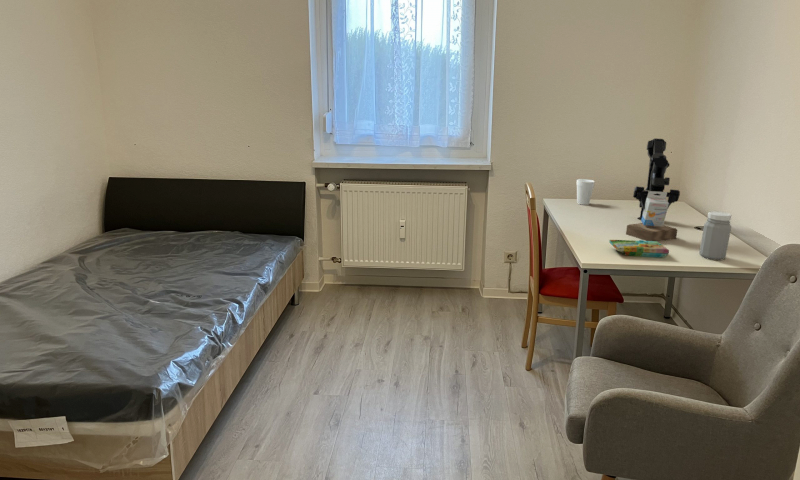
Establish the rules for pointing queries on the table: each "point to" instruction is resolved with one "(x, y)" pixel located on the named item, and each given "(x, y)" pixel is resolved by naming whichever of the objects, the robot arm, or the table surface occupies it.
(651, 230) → the walnut box
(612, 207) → the table surface
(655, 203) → the ink box
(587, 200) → the foam cup
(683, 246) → the table surface
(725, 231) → the jar
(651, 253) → the puzzle game
